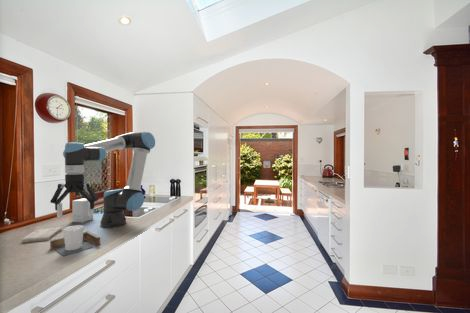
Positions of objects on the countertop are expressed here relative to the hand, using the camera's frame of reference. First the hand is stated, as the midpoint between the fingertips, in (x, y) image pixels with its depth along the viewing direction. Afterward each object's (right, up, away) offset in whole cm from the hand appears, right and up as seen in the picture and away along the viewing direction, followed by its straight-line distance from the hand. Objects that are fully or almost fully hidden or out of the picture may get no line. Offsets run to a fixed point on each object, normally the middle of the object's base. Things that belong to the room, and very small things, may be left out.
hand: (75, 216), depth 106 cm
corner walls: (-1, -16, +2) cm, 16 cm away
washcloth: (-29, -16, +16) cm, 37 cm away
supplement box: (-28, -16, +45) cm, 55 cm away
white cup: (0, -16, 0) cm, 16 cm away
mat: (0, -16, 0) cm, 16 cm away
